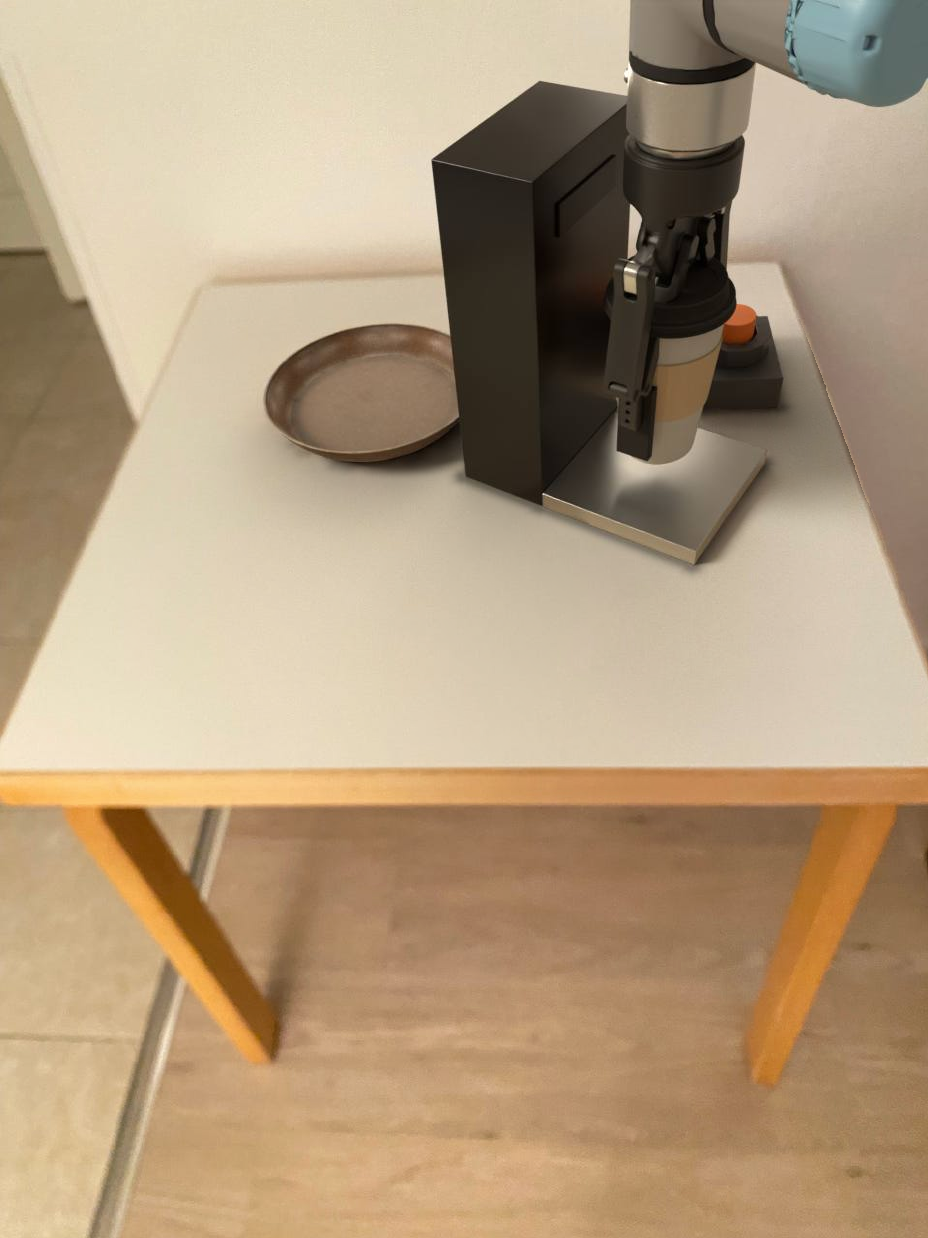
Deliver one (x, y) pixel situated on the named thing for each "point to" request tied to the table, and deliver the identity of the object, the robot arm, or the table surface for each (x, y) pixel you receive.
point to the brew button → (739, 325)
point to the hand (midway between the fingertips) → (659, 421)
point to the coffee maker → (559, 325)
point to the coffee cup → (685, 355)
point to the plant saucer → (366, 392)
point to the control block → (747, 372)
